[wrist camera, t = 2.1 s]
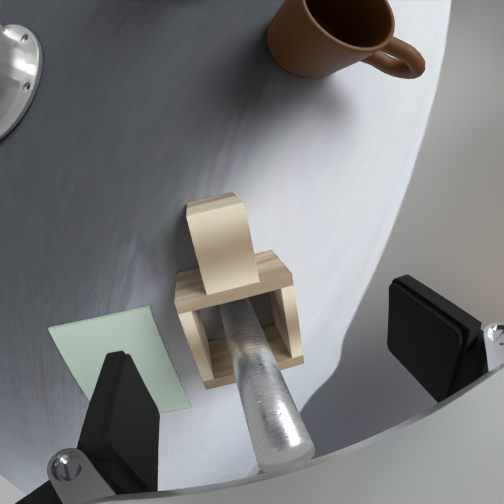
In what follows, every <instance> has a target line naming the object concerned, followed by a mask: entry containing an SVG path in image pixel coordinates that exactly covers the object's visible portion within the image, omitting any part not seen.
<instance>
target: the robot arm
mask: <svg viewBox="0 0 504 504" xmlns="http://www.w3.org/2000/svg"><path fill="white" fill-rule="evenodd" d="M0 1H1V0H0ZM41 71H42V50H41V46H40V43H39V41H38V39H37V37H36V36H35V35H34V33H32V32H31V31H30V30H28V29H27V28H25V27H23V26H21V25H14V24H12V25H5V26H2V25H1V19H0V139H2V138H3V137H4V136H6V135H7V134H8V133H9V132H10V131H11V130H12V129H13V128H14V127H15V126H16V125H17V124H18V122H19V121H20V120H21V118H22V117H23V116H24V114H25V113H26V111H27V109H28V107H29V106H30V104H31V102H32V100H33V97H34V95H35V93H36V90H37V87H38V84H39V81H40V76H41ZM29 87H30V88H29ZM480 328H481V322H480V321H478V320H477V319H475V318H474V317H473V316H471V315H470V314H468V313H467V312H465V311H464V310H462V309H461V308H459V307H458V306H456V305H455V304H453V303H452V302H450V301H449V300H447V299H445V298H444V297H443V296H441V295H439V294H438V293H436V292H435V291H433V290H431V289H430V288H429V287H427V286H425V285H424V284H422V283H421V282H419V281H417V280H416V279H414V278H413V277H411V276H409V275H404V276H401V277H398V278H395V279H394V280H393V281H392V284H391V285H390V286H389V316H388V340H387V345H388V349H389V351H390V352H391V353H392V354H393V355H394V356H395V357H396V358H397V359H398V360H399V361H400V362H401V364H402V365H403V366H404V367H405V368H406V369H407V370H408V371H409V372H410V373H411V374H412V375H413V376H414V377H415V378H416V379H417V380H418V382H419V383H420V384H421V385H422V386H423V387H424V388H425V389H426V390H427V391H428V393H430V395H431V396H432V397H433V398H434V399H435V400H436V401H437V402H438V404H436V405H435V406H433V407H431V408H429V409H427V410H426V411H424V412H422V413H420V414H419V415H416V416H414V417H412V418H411V419H409V420H407V421H405V422H403V423H401V424H399V425H397V426H394V427H393V428H390V429H388V430H386V431H384V432H382V433H380V434H377V435H375V436H373V437H370V438H368V439H366V440H363V441H361V442H359V443H356V444H354V445H352V446H349V447H346V448H344V449H341V450H338V451H336V452H333V453H330V454H328V455H325V456H322V457H319V458H316V459H313V460H310V461H307V462H304V463H300V464H297V465H294V466H290V467H287V468H283V469H280V470H276V471H272V472H268V473H265V474H261V475H256V476H252V477H248V478H243V479H238V480H233V481H228V482H223V483H217V484H211V485H205V486H198V487H191V488H184V489H176V490H167V491H157V490H158V443H159V421H160V415H159V410H158V408H157V406H156V404H155V402H154V400H153V398H152V396H151V395H150V393H149V391H148V389H147V387H146V385H145V383H144V381H143V379H142V377H141V375H140V373H139V371H138V369H137V367H136V365H135V363H134V361H133V359H132V357H131V355H130V354H125V352H124V351H116V352H110V353H107V354H106V356H105V359H104V362H103V365H102V368H101V371H100V374H99V377H98V380H97V383H96V386H95V389H94V392H93V395H92V397H91V400H90V403H89V407H88V410H87V413H86V417H85V420H84V424H83V427H82V431H81V434H80V438H79V442H78V445H77V449H76V448H67V449H63V450H61V451H59V452H57V453H56V454H55V455H54V456H53V457H52V458H51V460H50V461H49V463H48V466H47V474H48V477H49V479H50V480H48V481H47V482H45V483H44V484H43V485H41V486H40V487H38V488H37V489H36V490H34V491H33V492H31V493H30V494H28V495H27V496H25V497H24V498H23V499H21V500H20V501H18V502H17V503H15V504H504V323H503V322H496V323H492V324H489V325H488V326H487V327H486V328H485V330H484V332H483V331H482V330H481V329H480Z"/></svg>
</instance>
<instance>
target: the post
mask: <svg viewBox="0 0 504 504" xmlns="http://www.w3.org/2000/svg"><path fill="white" fill-rule="evenodd" d="M219 307H220V312H221V317H222V321H223V326H224V330H225V335H226V339H227V344H228V348H229V352H230V357H231V361H232V365H233V369H234V374H235V378H236V382H237V386H238V390H239V394H240V398H241V402H242V406H243V410H244V414H245V418H246V422H247V426H248V429H249V433H250V437H251V441H252V445H253V448H254V452H255V456H256V459H257V463H258V466H259V468H260V469H261V470H262V471H265V472H272V471H276V470H280V469H283V468H287V467H290V466H294V465H297V464H300V463H304V462H307V461H309V460H310V459H311V458H312V457H313V455H314V453H315V448H314V445H313V443H312V441H311V439H310V437H309V434H308V432H307V430H306V428H305V425H304V423H303V421H302V419H301V417H300V414H299V412H298V410H297V408H296V405H295V403H294V401H293V399H292V396H291V394H290V392H289V390H288V387H287V385H286V383H285V381H284V378H283V376H282V374H281V371H280V369H279V367H278V365H277V362H276V360H275V358H274V355H273V353H272V351H271V348H270V346H269V344H268V342H267V339H266V337H265V335H264V332H263V330H262V328H261V325H260V323H259V321H258V318H257V316H256V314H255V311H254V309H253V306H252V304H251V302H250V299H249V297H247V298H243V299H239V300H235V301H231V302H227V303H223V304H219Z"/></svg>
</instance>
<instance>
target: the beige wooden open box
mask: <svg viewBox="0 0 504 504" xmlns="http://www.w3.org/2000/svg"><path fill="white" fill-rule="evenodd" d="M186 217H187V221H188V225H189V229H190V233H191V237H192V241H193V245H194V249H195V253H196V257H197V260H198V264H199V268H196V269H192V270H188V271H184V272H180V273H177V275H176V287H175V300H174V304H175V307H176V310H177V313H178V315H179V318H180V321H181V324H182V327H183V330H184V333H185V335H186V338H187V341H188V344H189V347H190V349H191V352H192V355H193V357H194V360H195V363H196V365H197V368H198V370H199V373H200V375H201V378H202V381H203V383H204V386H205V388H206V389H210V388H215V387H219V386H223V385H227V384H232V383H236V378H235V374H234V369H233V365H232V361H231V357H230V352H229V348H228V344H227V339H226V337H225V338H221V339H217V340H212V341H208V338H207V335H206V332H205V328H204V325H203V322H202V319H201V316H200V312H199V309H203V308H207V307H211V306H215V305H219V304H223V303H227V302H231V301H235V300H239V299H243V298H247V297H251V296H255V295H258V294H262V293H266V292H269V295H270V301H271V306H272V311H273V317H274V322H275V324H274V325H270V326H267V327H263V328H262V330H263V332H264V335H265V337H266V339H267V342H268V344H269V346H270V348H271V351H272V353H273V355H274V358H275V360H276V362H277V365H278V367H279V369H280V370H283V369H287V368H290V367H293V366H297V365H300V364H303V363H304V359H303V351H302V343H301V335H300V328H299V320H298V313H297V306H296V299H295V292H294V285H293V278H292V273H291V272H290V271H289V269H288V268H287V267H286V266H285V265H284V264H283V262H282V261H281V260H280V259H279V258H278V256H277V255H276V254H275V253H274V252H273V251H272V250H269V251H265V252H261V253H257V254H254V250H253V245H252V240H251V235H250V230H249V225H248V220H247V215H246V210H245V205H244V202H243V201H242V200H241V199H240V198H238V197H237V196H236V195H235V194H234V193H233V192H231V193H226V194H222V195H218V196H213V197H209V198H205V199H201V200H196V201H192V202H188V203H187V212H186Z"/></svg>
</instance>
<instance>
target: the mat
mask: <svg viewBox="0 0 504 504" xmlns="http://www.w3.org/2000/svg"><path fill="white" fill-rule="evenodd" d="M48 330H49V332H50V334H51V336H52V338H53V340H54V342H55V344H56V346H57V348H58V349H59V351H60V353H61V355H62V357H63V359H64V360H65V362H66V364H67V366H68V367H69V369H70V371H71V373H72V374H73V376H74V378H75V379H76V381H77V382H78V384H79V386H80V387H81V389H82V390H83V392H84V394H85V395H86V397H87V398H88V400H89V401H90V400H91V397H92V395H93V392H94V389H95V386H96V383H97V380H98V377H99V374H100V371H101V368H102V365H103V362H104V359H105V356H106V354H107V353H110V352H116V351H124V352H125V354H130V355H131V357H132V359H133V361H134V363H135V365H136V367H137V369H138V371H139V373H140V375H141V377H142V379H143V381H144V383H145V385H146V387H147V389H148V391H149V393H150V395H151V396H152V398H153V400H154V402H155V404H156V406H157V408H158V410H159V413H162V412H169V411H174V410H180V409H185V408H191V404H190V402H189V400H188V397H187V395H186V393H185V391H184V389H183V387H182V384H181V382H180V380H179V378H178V375H177V373H176V371H175V369H174V366H173V364H172V362H171V359H170V357H169V355H168V352H167V350H166V347H165V345H164V342H163V340H162V337H161V335H160V332H159V330H158V327H157V325H156V322H155V319H154V317H153V314H152V311H151V309H150V306H144V307H140V308H136V309H131V310H127V311H122V312H118V313H113V314H109V315H104V316H100V317H95V318H91V319H86V320H81V321H77V322H72V323H67V324H62V325H58V326H53V327H49V328H48Z"/></svg>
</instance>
